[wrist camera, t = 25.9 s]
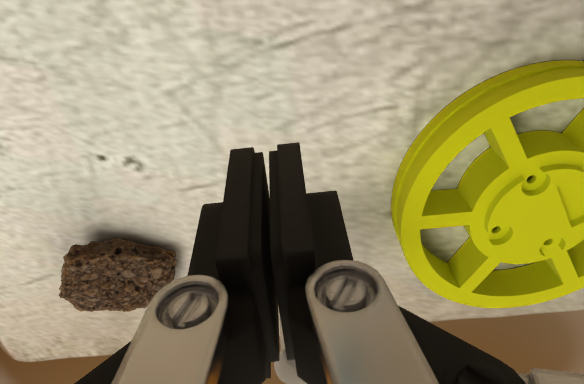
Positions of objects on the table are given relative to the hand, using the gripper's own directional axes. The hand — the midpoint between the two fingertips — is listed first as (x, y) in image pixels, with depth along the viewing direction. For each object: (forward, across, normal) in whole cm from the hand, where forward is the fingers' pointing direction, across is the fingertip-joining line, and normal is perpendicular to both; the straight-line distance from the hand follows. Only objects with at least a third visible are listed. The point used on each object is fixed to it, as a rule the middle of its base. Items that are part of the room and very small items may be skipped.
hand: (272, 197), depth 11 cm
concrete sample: (+29, +20, +27) cm, 44 cm away
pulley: (+29, -24, +22) cm, 44 cm away
